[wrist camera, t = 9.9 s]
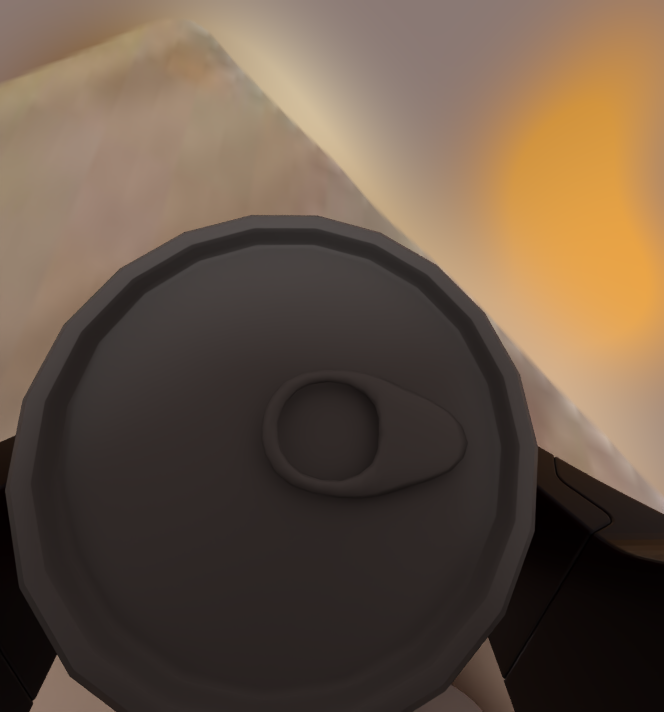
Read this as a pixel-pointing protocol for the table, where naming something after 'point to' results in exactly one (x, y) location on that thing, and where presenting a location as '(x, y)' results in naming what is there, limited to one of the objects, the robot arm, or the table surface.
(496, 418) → the beer can
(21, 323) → the table surface
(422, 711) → the paw print puck
